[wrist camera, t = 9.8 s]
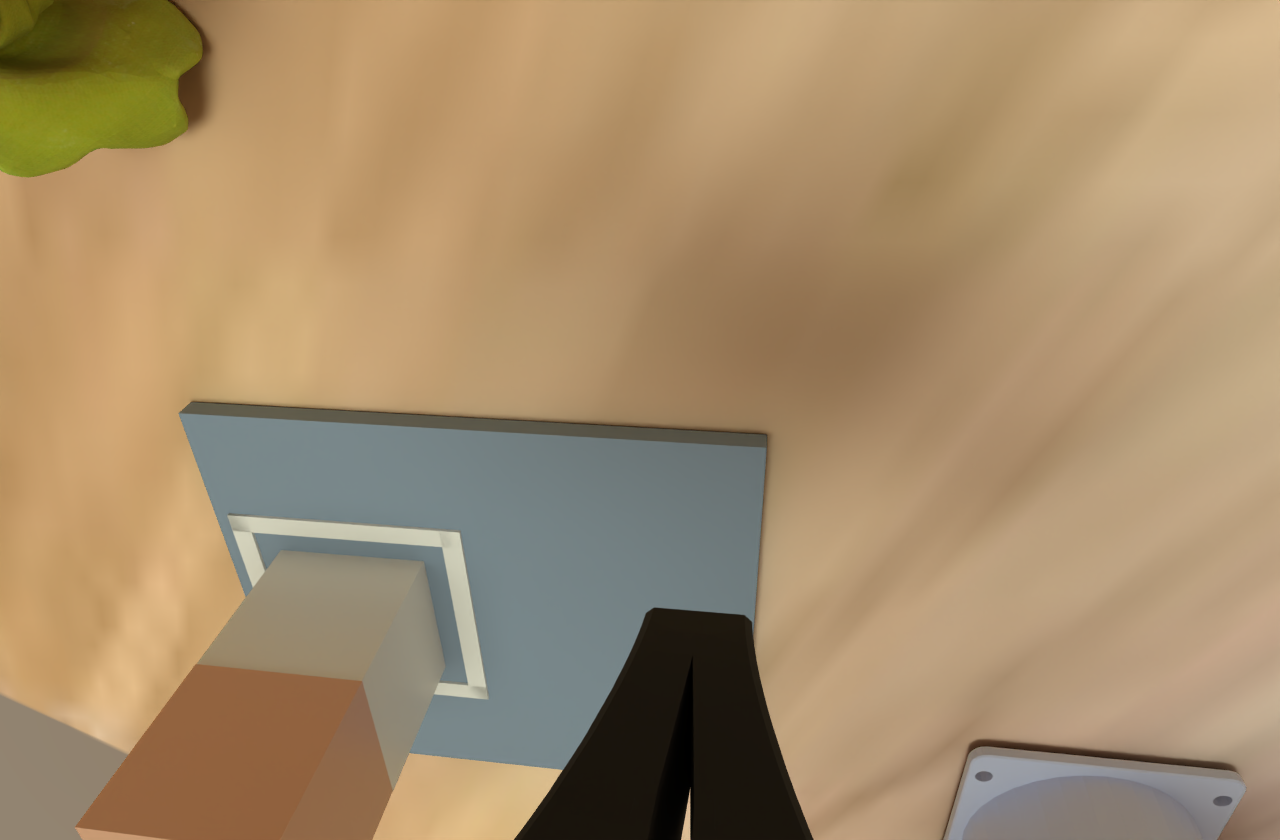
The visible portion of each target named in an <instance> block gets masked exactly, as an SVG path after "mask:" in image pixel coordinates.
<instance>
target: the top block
mask: <svg viewBox="0 0 1280 840" xmlns="http://www.w3.org/2000/svg"><path fill="white" fill-rule="evenodd" d="M392 791H393V790H392V786H391V783H390V779H389V776H388V772H387V768H386V765H385V761H384V758H383V754H382V750H381V747H380V743H379V740H378V736H377V733H376V729H375V725H374V722H373V718H372V715H371V711H370V707H369V704H368V700H367V697H366V693H365V690H364V686H363V682H362V681H356V680H346V679H337V678H327V677H317V676H307V675H298V674H288V673H278V672H268V671H259V670H249V669H239V668H229V667H220V666H210V665H200V664H196V665H195V666H194V667H193V669H192V670H191V671H190V673H189V674H188V675H187V677H186V678H185V679H184V681H183V682H182V683H181V685H180V686H179V687H178V689H177V690H176V691H175V693H174V694H173V696H172V697H171V698H170V700H169V701H168V702H167V704H166V705H165V706H164V708H163V709H162V710H161V712H160V713H159V714H158V716H157V717H156V718H155V720H154V721H153V723H152V724H151V725H150V727H149V728H148V729H147V731H146V732H145V733H144V735H143V736H142V737H141V739H140V740H139V741H138V743H137V744H136V745H135V747H134V748H133V750H132V751H131V752H130V754H129V755H128V756H127V758H126V759H125V760H124V762H123V763H122V764H121V766H120V767H119V768H118V770H117V771H116V773H115V774H114V775H113V777H112V778H111V779H110V781H109V782H108V783H107V785H106V786H105V787H104V789H103V790H102V791H101V793H100V794H99V795H98V797H97V798H96V800H95V801H94V802H93V804H92V805H91V806H90V808H89V809H88V810H87V812H86V813H85V814H84V816H83V817H82V818H81V820H80V821H79V822H78V824H77V825H76V826H75V828H76V830H77V832H78V833H79V835H80V836H81V838H82V839H83V840H372V839H373V836H374V834H375V832H376V829H377V827H378V824H379V822H380V820H381V817H382V815H383V813H384V810H385V808H386V806H387V803H388V801H389V798H390V796H391V794H392Z"/></svg>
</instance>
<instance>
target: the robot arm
mask: <svg viewBox="0 0 1280 840" xmlns="http://www.w3.org/2000/svg"><path fill="white" fill-rule="evenodd" d="M689 792H690V840H813V837H812V835H811V833H810V830H809V828H808V825H807V822H806V820H805V817H804V815H803V812H802V810H801V807H800V804H799V802H798V799H797V797H796V794H795V791H794V789H793V786H792V783H791V780H790V777H789V775H788V772H787V769H786V766H785V763H784V760H783V757H782V754H781V750H780V747H779V744H778V741H777V738H776V735H775V732H774V729H773V726H772V722H771V719H770V715H769V712H768V708H767V705H766V701H765V697H764V692H763V688H762V684H761V680H760V676H759V671H758V666H757V661H756V655H755V648H754V640H753V629H752V621H751V620H750V619H749V618H747V617H746V616H745V615H740V614H728V613H716V612H704V611H692V610H680V609H668V608H656V607H654V608H652V609H651V610H649V611H648V612H646V614H645V617H644V620H643V623H642V626H641V628H640V631H639V633H638V636H637V638H636V640H635V643H634V645H633V647H632V649H631V652H630V654H629V656H628V658H627V660H626V662H625V664H624V666H623V668H622V670H621V672H620V674H619V676H618V678H617V680H616V682H615V684H614V686H613V688H612V690H611V691H610V693H609V695H608V697H607V698H606V700H605V702H604V704H603V705H602V707H601V709H600V711H599V712H598V714H597V716H596V718H595V719H594V721H593V723H592V725H591V726H590V728H589V730H588V732H587V733H586V735H585V737H584V738H583V740H582V742H581V743H580V745H579V746H578V748H577V749H576V751H575V752H574V754H573V756H572V757H571V759H570V760H569V762H568V763H567V765H566V766H565V768H564V769H563V771H562V772H561V774H560V775H559V777H558V778H557V780H556V782H555V783H554V785H553V786H552V788H551V789H550V791H549V792H548V794H547V795H546V797H545V798H544V799H543V801H542V802H541V804H540V805H539V806H538V808H537V809H536V811H535V812H534V813H533V815H532V816H531V818H530V819H529V820H528V822H527V823H526V824H525V826H524V827H523V828H522V830H521V831H520V833H519V834H518V835H517V836H516V838H515V839H514V840H681V837H682V831H683V825H684V820H685V814H686V809H687V803H688V797H689ZM1245 792H1246V786H1245V784H1244V782H1243V780H1242V778H1241V776H1240V775H1239V774H1238V773H1236V772H1233V771H1229V770H1220V769H1210V768H1200V767H1190V766H1180V765H1170V764H1160V763H1150V762H1140V761H1129V760H1119V759H1109V758H1099V757H1089V756H1079V755H1069V754H1059V753H1049V752H1039V751H1028V750H1018V749H1008V748H998V747H988V746H984V747H978V748H975V749H974V750H972V751H971V752H970V753H969V755H968V758H967V761H966V765H965V768H964V772H963V775H962V778H961V782H960V785H959V789H958V792H957V795H956V799H955V802H954V806H953V809H952V812H951V816H950V819H949V823H948V826H947V829H946V833H945V836H944V840H1217V839H1218V837H1219V836H1220V834H1221V832H1222V830H1223V829H1224V827H1225V825H1226V824H1227V822H1228V820H1229V819H1230V817H1231V815H1232V814H1233V812H1234V810H1235V808H1236V807H1237V805H1238V803H1239V802H1240V800H1241V798H1242V797H1243V795H1244V793H1245Z"/></svg>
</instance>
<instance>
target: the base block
mask: <svg viewBox="0 0 1280 840" xmlns="http://www.w3.org/2000/svg"><path fill="white" fill-rule="evenodd" d="M197 664H200V665H210V666H220V667H229V668H239V669H249V670H259V671H268V672H278V673H288V674H298V675H307V676H317V677H327V678H337V679H346V680H356V681H362V682H363V686H364V690H365V693H366V697H367V700H368V704H369V707H370V711H371V715H372V718H373V722H374V725H375V729H376V733H377V736H378V740H379V743H380V747H381V750H382V754H383V758H384V761H385V765H386V768H387V772H388V776H389V779H390V783H391V786H392V790H394V788H395V785H396V783H397V781H398V778H399V776H400V774H401V771H402V769H403V766H404V764H405V762H406V759H407V757H408V755H409V752H410V750H411V747H412V745H413V743H414V740H415V738H416V736H417V733H418V731H419V728H420V726H421V724H422V721H423V719H424V717H425V714H426V712H427V709H428V707H429V705H430V702H431V700H432V698H433V695H434V693H435V690H436V688H437V686H438V683H439V681H440V679H441V676H442V674H443V671H444V669H445V667H446V666H445V661H444V656H443V651H442V646H441V642H440V637H439V632H438V627H437V622H436V617H435V613H434V608H433V603H432V598H431V593H430V588H429V584H428V579H427V574H426V569H425V564H424V561H413V560H401V559H388V558H376V557H363V556H350V555H338V554H325V553H313V552H300V551H287V550H281V551H280V552H279V553H278V555H277V556H276V557H275V559H274V560H273V561H272V563H271V564H270V566H269V567H268V568H267V570H266V571H265V572H264V574H263V575H262V576H261V578H260V579H259V580H258V582H257V583H256V584H255V586H254V587H253V588H252V590H251V591H250V593H249V594H248V595H247V597H246V598H245V599H244V601H243V602H242V603H241V605H240V606H239V607H238V609H237V610H236V611H235V613H234V614H233V615H232V617H231V618H230V620H229V621H228V622H227V624H226V625H225V626H224V628H223V629H222V630H221V632H220V633H219V634H218V636H217V637H216V638H215V640H214V641H213V643H212V644H211V645H210V647H209V648H208V649H207V651H206V652H205V653H204V655H203V656H202V657H201V659H200V660H199V661H198V663H197Z"/></svg>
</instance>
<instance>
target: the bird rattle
mask: <svg viewBox="0 0 1280 840" xmlns="http://www.w3.org/2000/svg"><path fill="white" fill-rule="evenodd" d="M202 54H203V51H202V41H201V37H200V34H199V33H198V31H197V29H196V28H195V27H194V26H193V25H192V24H191V22H190V21H189V20H188V19H187V18H186V17H185V16H184V15H183V14H182V13H181V12H180V11H179V10H178V9H177V8H176V7H175V6H174V5H173V4H172V3H170V2H169V1H168V0H0V170H1V171H2V172H5V173H7V174H9V175H14V176H20V177H35V176H40V175H44V174H48V173H51V172H55V171H58V170H62V169H65V168H67V167H69V166H71V165H73V164H75V163H76V162H78V161H79V160H80V159H82V158H83V157H84V156H85V155H87V154H88V153H89V152H92V151H94V150H96V149H100V148H110V149H116V148H150V147H156V146H161V145H164V144H167V143H169V142H171V141H172V140H174V139H175V138H177V137H178V136H180V135H181V134H183V133H184V132H186V131H187V129H188V116H187V114H186V111H185V109H184V107H183V105H182V104H181V102H180V100H179V98H178V80H179V77H180V76H181V75H183V74H184V73H185V72H187V71H188V70H189V69H191V68H192V67H193V66H195V65H196V64H197V63H198V62H199V61H200V60H201V58H202Z"/></svg>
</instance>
